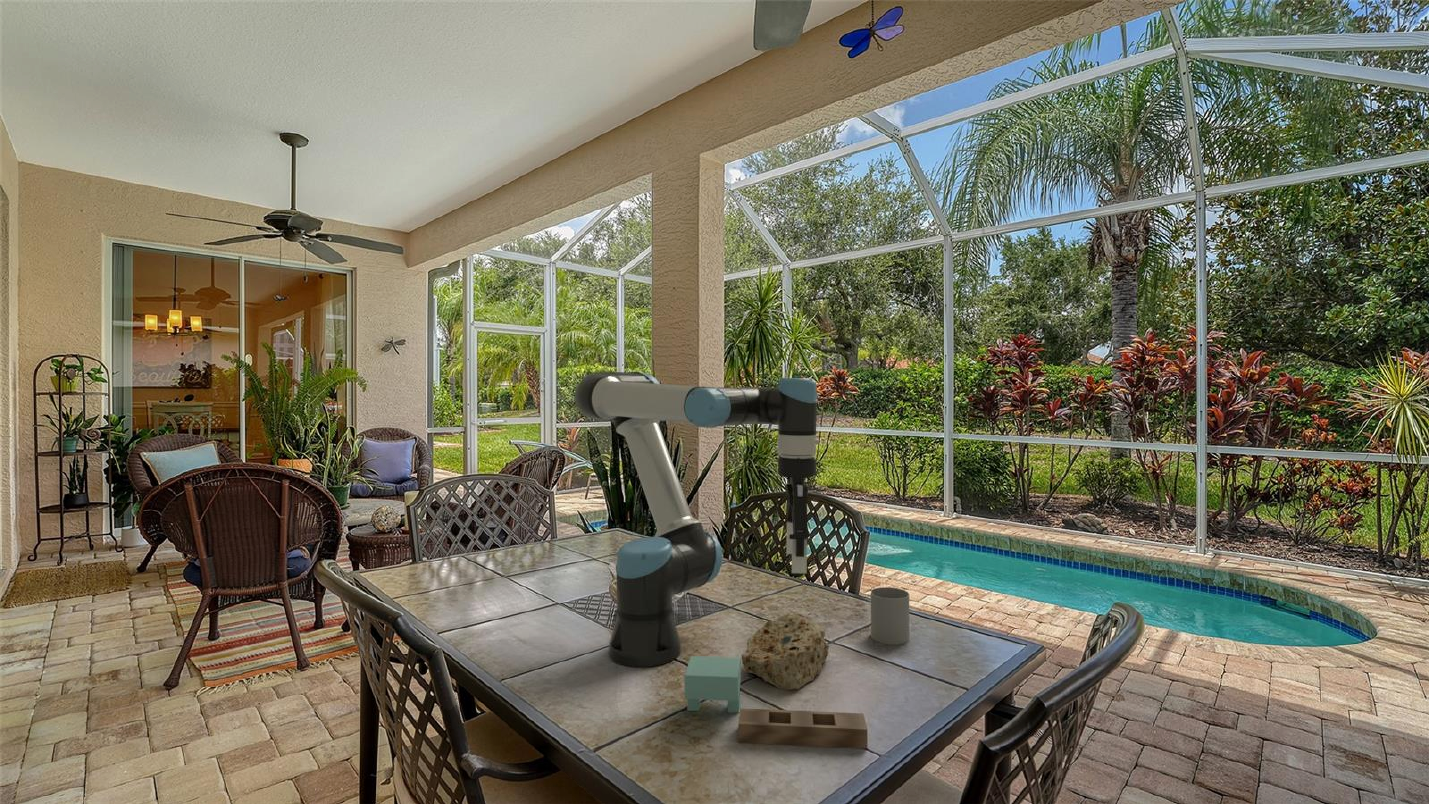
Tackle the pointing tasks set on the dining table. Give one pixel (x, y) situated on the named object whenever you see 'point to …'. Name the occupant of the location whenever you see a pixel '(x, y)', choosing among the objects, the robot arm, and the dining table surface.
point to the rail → (802, 728)
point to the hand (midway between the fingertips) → (795, 562)
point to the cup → (890, 615)
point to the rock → (787, 651)
